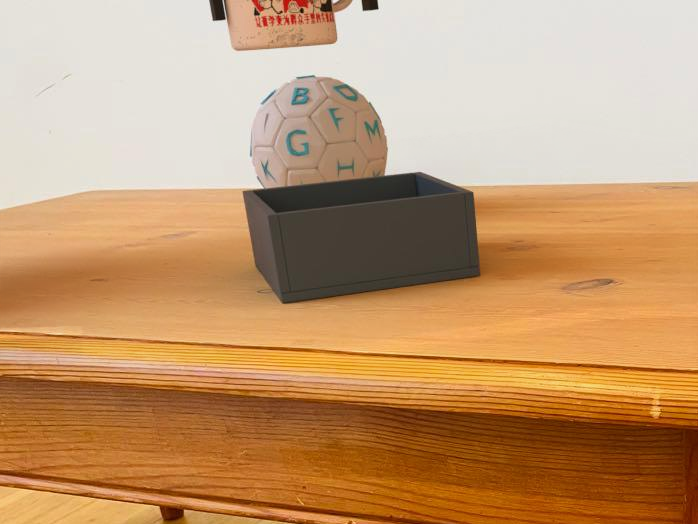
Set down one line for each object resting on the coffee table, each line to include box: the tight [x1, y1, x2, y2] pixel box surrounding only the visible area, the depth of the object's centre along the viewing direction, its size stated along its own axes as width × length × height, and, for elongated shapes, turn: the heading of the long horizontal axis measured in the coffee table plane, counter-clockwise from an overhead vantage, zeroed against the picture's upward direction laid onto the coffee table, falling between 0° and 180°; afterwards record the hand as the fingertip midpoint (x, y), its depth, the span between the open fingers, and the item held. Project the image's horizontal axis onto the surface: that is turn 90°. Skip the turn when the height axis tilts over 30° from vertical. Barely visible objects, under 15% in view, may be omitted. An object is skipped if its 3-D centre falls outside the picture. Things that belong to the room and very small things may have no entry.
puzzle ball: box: [249, 74, 389, 189], centre depth 120 cm, size 15×15×15 cm
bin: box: [242, 171, 481, 304], centre depth 93 cm, size 17×17×7 cm
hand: (296, 15), depth 88 cm, fingers closed on teacup with lid, 12 cm apart
